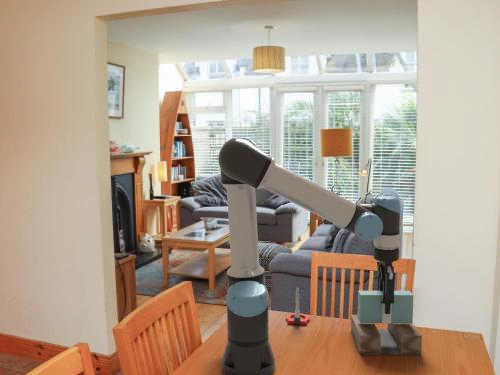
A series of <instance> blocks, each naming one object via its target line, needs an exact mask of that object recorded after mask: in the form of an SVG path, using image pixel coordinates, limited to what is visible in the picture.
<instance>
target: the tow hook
mask: <svg viewBox="0 0 500 375" xmlns="http://www.w3.org/2000/svg"><path fill="white" fill-rule="evenodd" d="M299 291H300V290H299V287H296V291H295V292H296V293H295V310H294V312H293V313H289V314H286V315H285V320H286V321H287V325H294V326H295V325H297V326H308V322H310V320H311V319H310V318H311V317H310V316H309V315H308V314H306V313H301V311H300V293H299ZM306 315H307V316H306ZM301 318H303V319H301Z"/></svg>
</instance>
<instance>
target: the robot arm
mask: <svg viewBox="0 0 500 375" xmlns="http://www.w3.org/2000/svg"><path fill="white" fill-rule="evenodd" d="M217 159H218V160H217V161H218V165H219V170H220V183H221V186H223V187H224V188H225V190H226V197H227V198H226V201H227V214H228V215H227V217H228V233H229V234H228V235H229V245H230V246H229V247H230V265H231V266H230V267H229V268H228V269H227V270H226V282H227V290H226V291H227V292H226V297H225V303H226V322H227V323H226V325H227V328H226V329H227V332H226V333H227V343H226V344H225V349H224V352H223V355H222V357H221V370H222V373H223V374H225V375H271V374H272V373H274V371H275V370H276V369H275V368H276V358H275V355H274V353H273V350H272V345H271V343H270V340H269V339H270V338H269V336H270V334H269V330H270V329H269V327H270V326H269V304H270V303H269V302H270V297H269V292H268V288H267V287H266V275H265V272H266V271H265V268H264V267H263V266H261V265H260V254H259V237H258V216H257V195H256V189H257V190H259V189H264V190H266V191H269V192H271V193H272V194H275V195H276V196H278V197H280V198H282V199H284V200H286V201H288V202H290V203H293V204H294V205H295V206H296V205H297V206H298V207H300V208H302V209H304V210H306V211H308V212H310V213H312V214H314V215H316V216H319V217H320V218H322V219H324V220H326V221H328V222H330V223H332V224H334V225H335V226H336V228H337V229H339V230H341V229H342V230H345V231H348V232H350V233H352V234H354V235H356V236H357V237H358V238H359V239H360V240H363V241H365V242H372V241H373V246H374V247H373V259H374V260H375V261H377V262H376V268H377V272H376V273H377V274H376V275H377V276H376V278H377V279H376V282H377V283H376V291H383V301H381V304H382V323H381V324H388V323H391V311H392V304H394V291H395V286H396V285H395V280H396V273H395V267H394V266H393V263H394V262H397V261H399V260H400V249H399V247H400V240H401V239H402V236H401V235H400V227H401V226H400V225H401V201H400V199H399V198H398V197H397V196H393V195H379V196H375V198H374V201H373V202H372V203H354V202H351V201H350V200H348V199H346V198H344V197H343V196H341V195H339V194H336V193H334V192H332V191H331V190H329V189H326V188H325V187H323V186H321V185H318V184H317V183H315V182H313V181H311V180H309V179H307V178H305V177H303V176H302V175H299V174H298V173H295V172H293V171H291V170H290V169H287V168H285V167H284V166H282V165H280V164H278V163H276V162H275V159H274V157H272V156H270V155H269V154H267V153H265V152H263V151H262V150H260V149H259V148H258V147H257V146H256V144H255V143H254V142H252V141H251V140H250V139H248V138H245V137H240V136H239V137H233V138H230V139H228V140H227V141H225V143H224V144H223V145H222V147H221V148H220V151H219V153H218V158H217Z"/></svg>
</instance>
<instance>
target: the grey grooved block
mask: <svg viewBox="0 0 500 375" xmlns="http://www.w3.org/2000/svg"><path fill="white" fill-rule="evenodd" d="M350 333H351V336H352V338H353V340H354V343H355V346H356V349H357V350H358V352H359V355H360V356H363V355H364V356H367V355H368V356H369V355H371V356H422V343H423V342H422V340H423V336H422V334H421V332H420V331H419V330H418V328H417V327H416V325H414V323H387V328H386V329H383V328H382V329H381V328H380V329H379V328H377V326H376V323H360V322H359V320H358V314H351V315H350Z"/></svg>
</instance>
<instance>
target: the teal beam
mask: <svg viewBox="0 0 500 375" xmlns="http://www.w3.org/2000/svg"><path fill="white" fill-rule="evenodd" d="M381 301H383V291H377V290H358V291H357V315H358V320H359V322H360V323H374V324H383V323H382V304H381ZM413 314H414V294H413V292H411V291H410V290H394V304H392V311H391V323H413V318H414V315H413ZM413 324H414V323H413Z"/></svg>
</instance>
